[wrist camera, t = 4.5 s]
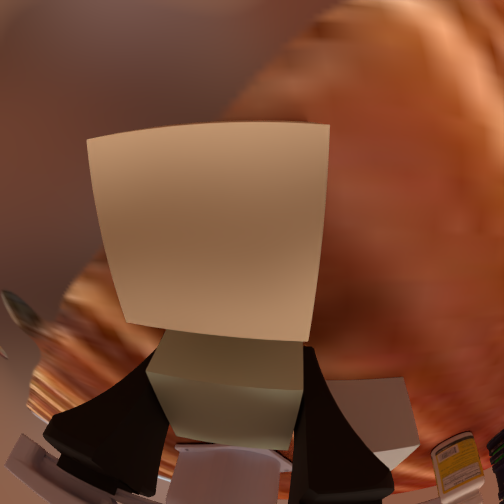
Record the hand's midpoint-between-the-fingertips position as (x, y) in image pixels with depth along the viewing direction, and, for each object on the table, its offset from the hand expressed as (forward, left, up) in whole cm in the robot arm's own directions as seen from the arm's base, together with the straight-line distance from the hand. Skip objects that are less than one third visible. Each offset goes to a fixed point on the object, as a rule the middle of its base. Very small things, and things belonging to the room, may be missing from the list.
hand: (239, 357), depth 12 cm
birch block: (+3, +6, -2) cm, 7 cm away
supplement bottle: (+11, -27, -2) cm, 29 cm away
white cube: (+3, -9, -2) cm, 9 cm away
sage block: (0, 0, -2) cm, 2 cm away
